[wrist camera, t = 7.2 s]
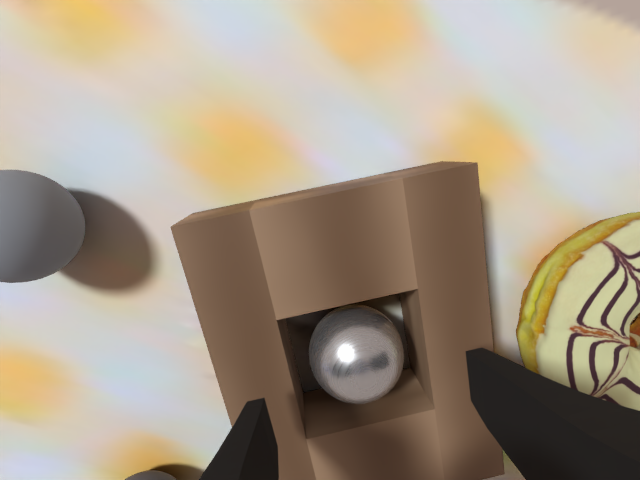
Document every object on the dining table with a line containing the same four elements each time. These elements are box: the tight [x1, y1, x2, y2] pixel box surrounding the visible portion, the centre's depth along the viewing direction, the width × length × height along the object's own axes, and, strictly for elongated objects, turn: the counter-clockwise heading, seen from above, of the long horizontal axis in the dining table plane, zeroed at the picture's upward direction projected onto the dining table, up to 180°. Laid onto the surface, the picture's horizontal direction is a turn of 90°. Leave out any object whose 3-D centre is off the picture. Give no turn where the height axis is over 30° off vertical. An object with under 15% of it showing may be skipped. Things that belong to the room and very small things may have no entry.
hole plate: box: [171, 161, 504, 480], centre depth 16 cm, size 11×14×3 cm
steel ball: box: [309, 305, 404, 404], centre depth 15 cm, size 4×4×4 cm
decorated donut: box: [516, 212, 640, 411], centre depth 16 cm, size 10×11×4 cm
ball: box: [0, 170, 85, 283], centre depth 13 cm, size 4×4×4 cm
